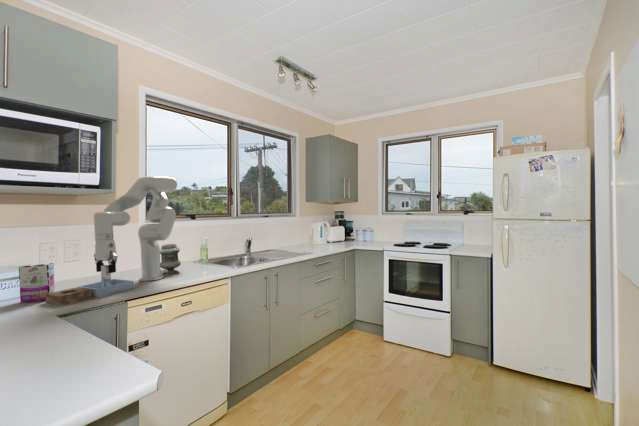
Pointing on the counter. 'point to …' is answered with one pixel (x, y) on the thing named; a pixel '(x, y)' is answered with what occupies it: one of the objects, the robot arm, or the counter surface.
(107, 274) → the pin
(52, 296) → the socket block
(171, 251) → the stone urn
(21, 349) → the counter surface
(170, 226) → the robot arm
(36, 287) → the candy bar box
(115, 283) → the tray
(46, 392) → the counter surface
